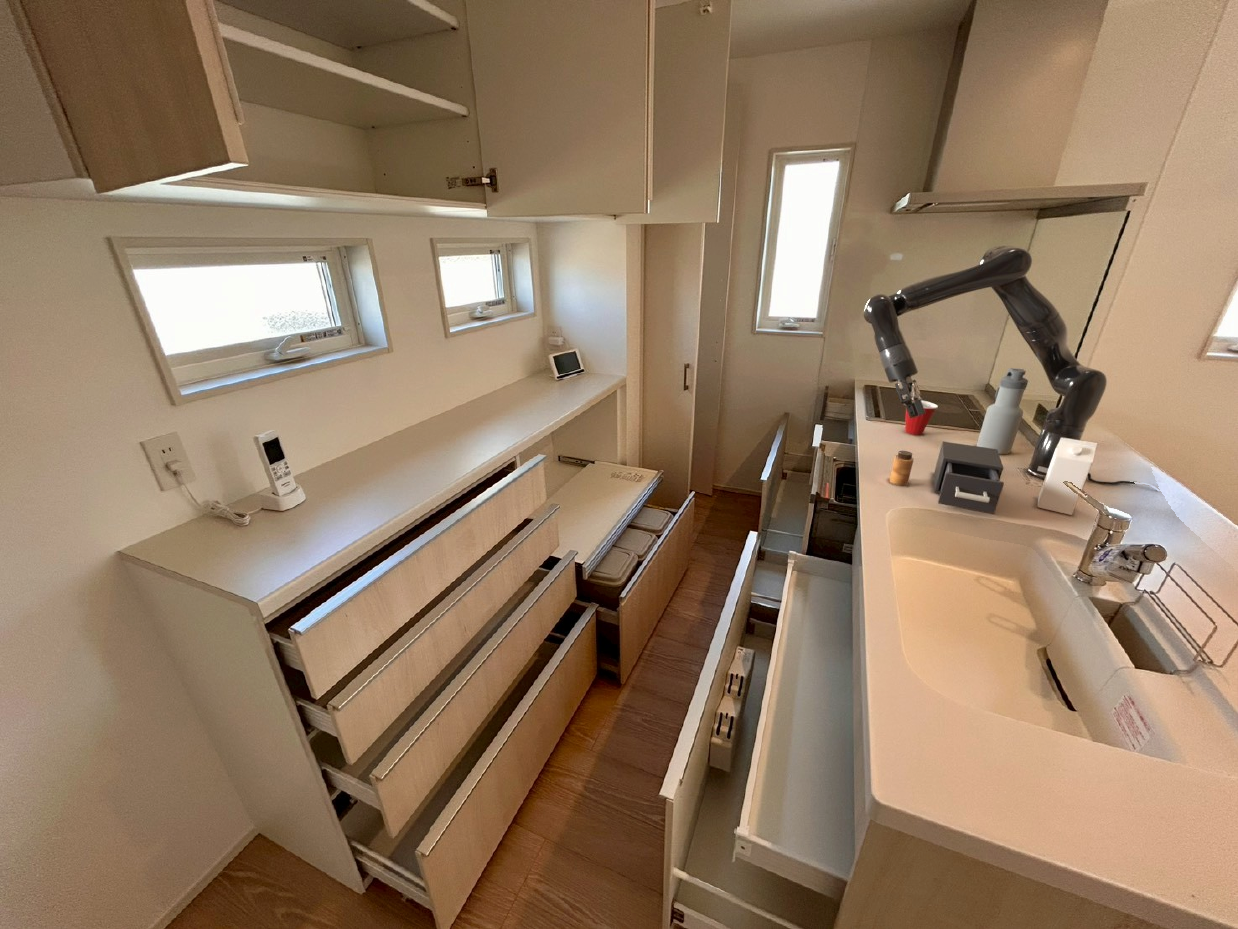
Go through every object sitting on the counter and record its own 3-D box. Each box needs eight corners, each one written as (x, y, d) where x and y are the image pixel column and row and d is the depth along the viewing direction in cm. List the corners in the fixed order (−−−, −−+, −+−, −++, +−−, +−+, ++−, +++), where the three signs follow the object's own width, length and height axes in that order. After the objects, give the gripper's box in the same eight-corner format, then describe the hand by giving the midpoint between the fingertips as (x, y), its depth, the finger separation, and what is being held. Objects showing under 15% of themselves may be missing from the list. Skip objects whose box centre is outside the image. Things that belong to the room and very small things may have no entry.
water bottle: (974, 442, 178) (997, 365, 168) (1007, 447, 174) (1033, 367, 163) (977, 452, 170) (1002, 371, 159) (1012, 457, 166) (1040, 374, 155)
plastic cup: (935, 438, 183) (944, 406, 178) (904, 436, 185) (911, 405, 180) (924, 428, 193) (931, 398, 188) (894, 427, 195) (900, 397, 190)
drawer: (996, 523, 124) (1006, 491, 120) (938, 511, 129) (946, 480, 126) (988, 492, 139) (997, 463, 136) (937, 483, 145) (944, 455, 142)
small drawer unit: (992, 503, 135) (1003, 467, 131) (934, 492, 142) (943, 458, 137) (986, 482, 148) (997, 449, 144) (933, 473, 154) (942, 441, 150)
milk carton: (1037, 498, 138) (1060, 433, 131) (1071, 505, 134) (1097, 439, 126) (1036, 507, 133) (1060, 441, 125) (1071, 515, 129) (1098, 447, 121)
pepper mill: (907, 481, 149) (915, 451, 145) (907, 487, 145) (914, 457, 141) (890, 477, 151) (896, 448, 147) (889, 483, 147) (895, 454, 144)
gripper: (890, 368, 149) (909, 418, 148) (877, 368, 139) (897, 422, 138) (917, 357, 144) (937, 409, 143) (906, 356, 134) (927, 413, 133)
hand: (918, 416), depth 140 cm, fingers open, 8 cm apart
